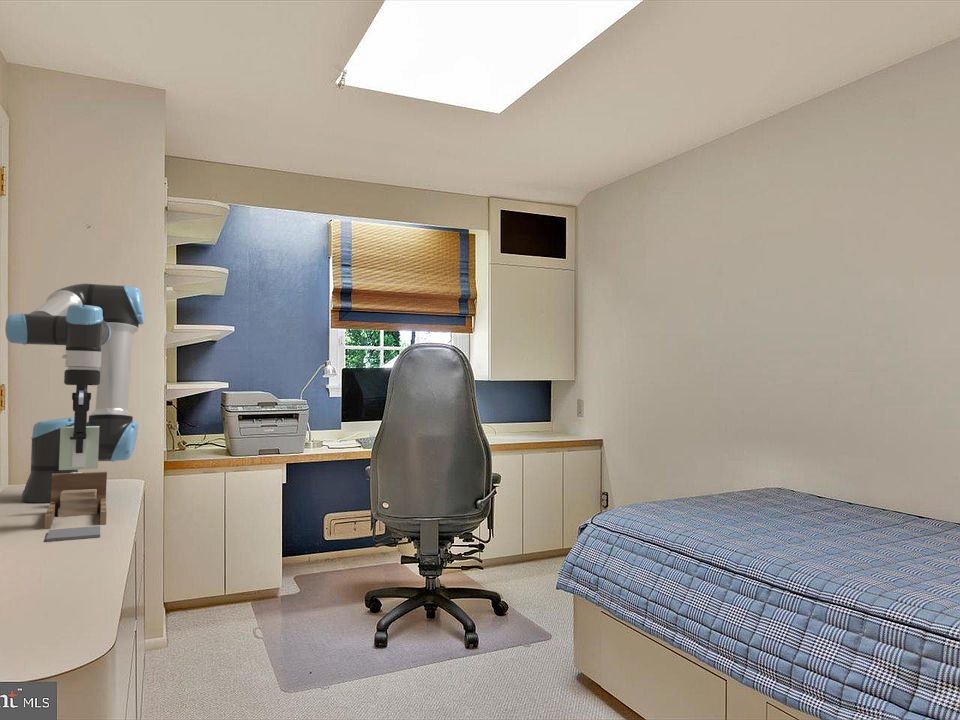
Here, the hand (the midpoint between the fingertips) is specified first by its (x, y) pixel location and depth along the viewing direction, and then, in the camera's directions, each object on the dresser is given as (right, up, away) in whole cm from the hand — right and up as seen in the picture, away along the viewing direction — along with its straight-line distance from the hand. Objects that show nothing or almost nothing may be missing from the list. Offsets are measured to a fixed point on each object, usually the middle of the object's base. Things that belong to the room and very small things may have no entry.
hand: (78, 465), depth 161 cm
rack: (-4, -14, +5) cm, 15 cm away
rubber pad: (+7, -13, -13) cm, 20 cm away
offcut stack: (-7, -14, +11) cm, 19 cm away
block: (0, -1, 0) cm, 1 cm away
